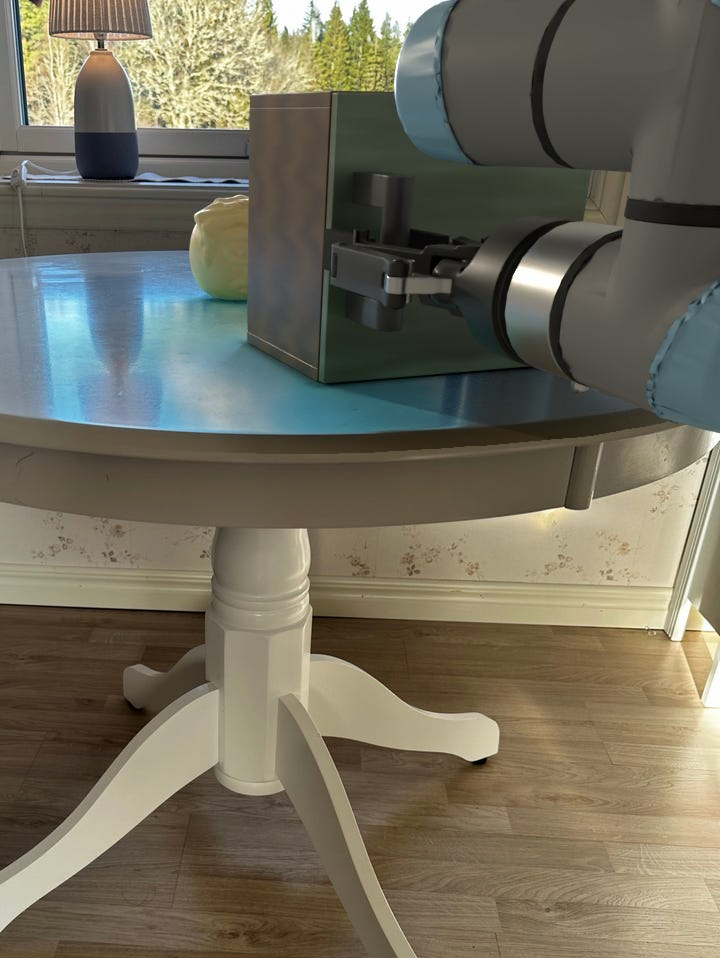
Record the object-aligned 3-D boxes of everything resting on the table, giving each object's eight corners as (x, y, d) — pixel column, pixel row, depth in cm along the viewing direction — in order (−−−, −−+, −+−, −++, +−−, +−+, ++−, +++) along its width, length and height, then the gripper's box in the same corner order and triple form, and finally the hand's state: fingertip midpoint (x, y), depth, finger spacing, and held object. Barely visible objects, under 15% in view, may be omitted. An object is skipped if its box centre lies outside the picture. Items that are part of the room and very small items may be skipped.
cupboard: (550, 362, 82) (593, 95, 73) (316, 381, 75) (330, 90, 66) (452, 328, 95) (478, 98, 86) (246, 342, 89) (249, 94, 79)
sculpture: (200, 306, 105) (199, 199, 100) (182, 289, 115) (180, 191, 110) (300, 303, 107) (305, 198, 102) (274, 287, 117) (276, 190, 112)
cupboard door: (606, 380, 76) (660, 96, 67) (357, 402, 69) (378, 90, 60) (552, 361, 82) (595, 97, 72) (318, 380, 75) (331, 92, 66)
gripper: (403, 381, 50) (248, 307, 69) (677, 358, 55) (463, 295, 75) (417, 225, 46) (249, 193, 65) (709, 217, 52) (475, 189, 71)
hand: (363, 247), depth 70 cm, fingers open, 5 cm apart
